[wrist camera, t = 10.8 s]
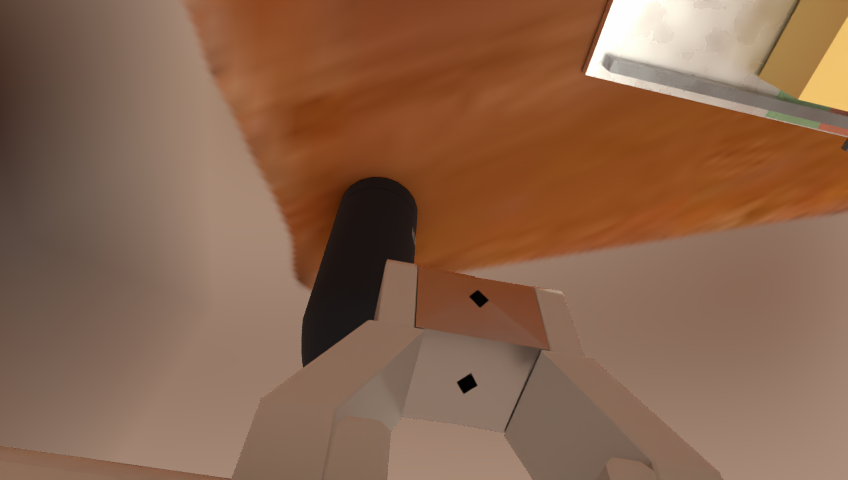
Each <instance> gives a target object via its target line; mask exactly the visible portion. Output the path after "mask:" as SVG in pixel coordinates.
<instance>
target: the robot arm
mask: <svg viewBox="0 0 848 480" xmlns="http://www.w3.org/2000/svg"><path fill="white" fill-rule="evenodd" d="M401 417H407V418H414V419H423V420H430V421H438V422H445V423H453V424H458V425H463V426H469V427H474V428H479V429H485V430H490V431H495V432H501V433H505V434H504V436H505V438H506V439H507V441H508V442H509V444H510V445H511V447H512V448H513V450H514V451H515V453H516V455H517V456H518V458H519V459H520V461H521V462H522V464H523V465H524V467H525V468H526V470H527V471H528V473H529V474H530V476H531V477H532V479H533V480H723V478H722V476H721V474H720V472H719V471H718V470H716V469H715V468H714V467H713V466H712V465H711V464H710V463H709V462H707V460H705V459H704V458H703V457H702V456H701V455H700V454H699V453H698V452H697V451H695V450H694V449H693V448H692V447H691V446H690V445H689V444H688V443H687V442H685V441H684V440H683V439H682V438H681V437H680V436H679V435H678V434H677V433H675V432H674V431H673V430H672V429H671V428H670V427H669V426H667V424H666V423H664V422H663V421H662V420H661V419H660V418H659V417H658V416H657V415H655V414H654V413H653V412H652V411H651V410H650V409H649V408H648V407H647V406H646V405H644V404H643V403H642V402H641V401H640V400H639V399H638V398H637V397H636V396H634V395H633V394H632V393H631V392H630V391H629V390H628V389H627V388H626V387H624V386H623V385H622V384H621V383H620V382H619V381H618V380H617V379H616V378H614V377H613V376H612V375H611V374H610V373H609V372H608V371H607V370H606V369H604V368H603V367H602V366H601V365H600V364H599V363H598V362H597V361H596V360H594V359H592V358H586V357H585V356H584V353H583V350H582V347H581V344H580V341H579V338H578V335H577V332H576V330H575V326H574V323H573V320H572V317H571V314H570V311H569V309H568V306H567V303H566V300H565V297H564V294H563V293H562V292H561V291H560V290H553V289H546V288H540V287H533V286H532V287H530V286H524V285H518V284H512V283H505V282H500V281H494V280H488V279H482V278H476V277H474V276H470V275H465V274H460V273H455V272H450V271H445V270H440V269H436V268H431V267H426V266H421V265H416V264H412V263H406V262H400V261H395V260H389V259H387V262H386V265H385V269H384V274H383V279H382V283H381V288H380V293H379V297H378V302H377V307H376V312H375V317H374V321H373V320H368V321H366V322H365V323H364V324H362V325H361V326H360V327H358V328H357V329H356V330H354V331H353V332H351V333H350V334H349V335H347V336H346V337H345V338H343V339H342V340H341V341H339V342H338V343H336V344H335V345H334V346H332V347H331V348H330V349H328V350H327V351H326V352H324V353H323V354H321V355H320V356H319V357H317V358H316V359H315V360H313V361H312V362H310V363H309V364H308V365H306V366H305V367H304V368H302V369H301V370H300V371H298V372H297V373H295V374H294V375H293V376H291V377H290V378H289V379H287V380H286V381H285V382H284V383H282V384H280V385H279V386H278V387H276V388H275V389H274V390H272V391H271V392H270V393H268V394H267V395H266V396H264V397H263V398H261V400H260V403H259V405H258V408H257V411H256V413H255V416H254V419H253V422H252V425H251V427H250V430H249V433H248V435H247V438H246V441H245V443H244V446H243V449H242V452H241V455H240V457H239V460H238V463H237V466H236V468H235V471H234V474H233V476H232V479H229V478H222V477H215V476H208V475H201V474H194V473H187V472H180V471H173V470H166V469H159V468H152V467H145V466H138V465H131V464H124V463H117V462H110V461H104V460H96V459H90V458H83V457H75V456H69V455H61V454H55V453H47V452H41V451H34V450H27V449H20V448H13V447H6V446H0V480H387V475H388V462H389V449H390V436H391V431H392V430H393V428H394V427H395V426H396V425H397V423H398V422H399V421H400V419H401Z"/></svg>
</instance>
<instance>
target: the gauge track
mask: <svg viewBox="0 0 848 480" xmlns="http://www.w3.org/2000/svg"><path fill="white" fill-rule="evenodd" d="M799 2H800V0H609V1H608V3H607V6H606V9H605V11H604V14H603V17H602V19H601V22H600V25H599V27H598V30H597V33H596V35H595V38H594V41H593V43H592V46H591V49H590V51H589V54H588V57H587V59H586V62H585V65H584V67H583V70H582V71H583V73H584V74H585V75H588V76H592V77H596V78H601V79H605V80H609V81H613V82H617V83H622V84H626V85H630V86H634V87H638V88H643V89H647V90H651V91H655V92H659V93H664V94H668V95H672V96H676V97H680V98H685V99H689V100H693V101H697V102H701V103H706V104H710V105H714V106H718V107H722V108H727V109H731V110H735V111H739V112H743V113H748V114H752V115H756V116H760V117H765V118H769V119H773V120H777V121H781V122H786V123H790V124H794V125H798V126H802V127H807V128H811V129H815V130H819V131H823V132H828V133H832V134H836V135H840V136H844V137H848V111H844V110H839V109H835V108H831V107H827V106H823V105H819V104H815V103H811V102H807V101H802V100H798V99H796V98H794V97H793V96H791V95H789V94H787V93H785V92H784V91H782V90H780V89H778V88H776V87H774V86H773V85H771V84H769V83H767V82H765V81H764V80H762V79H760V78H758V77H759V75H760V73H761V72H762V70H763V68H764V66H765V64H766V62H767V61H768V59H769V57H770V55H771V53H772V51H773V50H774V48H775V46H776V44H777V42H778V41H779V39H780V37H781V35H782V33H783V31H784V30H785V28H786V26H787V24H788V22H789V21H790V19H791V17H792V15H793V13H794V11H795V10H796V8H797V6H798V4H799Z"/></svg>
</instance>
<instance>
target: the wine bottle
mask: <svg viewBox="0 0 848 480" xmlns="http://www.w3.org/2000/svg"><path fill="white" fill-rule="evenodd" d="M416 225H417V207H416V204H415V200H414V198H413V197H412V196H411V194H410V193H409V191H408V190H407V189H406V188H404V187H403V186H402V185H400V184H399V183H397V182H395V181H392V180H389V179H386V178H374V177H372V178H368V179H364V180H360V181H359V182H357V183H355V184H354V185H352V186H350V188H349V189H348V190H347V191H346V192H345V194H344V195H343V197H342V200H341V203H340V206H339V209H338V212H337V215H336V218H335V222H334V225H333V228H332V231H331V234H330V237H329V240H328V243H327V246H326V249H325V252H324V256H323V259H322V262H321V265H320V268H319V271H318V274H317V277H316V280H315V283H314V287H313V290H312V293H311V296H310V299H309V302H308V305H307V308H306V311H305V314H304V317H303V325H302V363H303V368H304V367H305V366H306V365H308V364H309V363H310V362H312V361H313V360H315V359H316V358H317V357H319V356H320V355H321V354H323V353H324V352H326V351H327V350H328V349H330V348H331V347H332V346H334V345H335V344H336V343H338V342H339V341H341V340H342V339H343V338H345V337H346V336H347V335H349V334H350V333H351V332H353V331H354V330H356V329H357V328H358V327H360V326H361V325H362V324H364V323H365V322H366V321H368V320H373V321H374V317H375V312H376V307H377V302H378V297H379V293H380V288H381V283H382V279H383V274H384V269H385V265H386V262H387V259H389V260H395V261H400V262H406V263H412V264H414V255H415V240H416Z"/></svg>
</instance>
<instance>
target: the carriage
mask: <svg viewBox="0 0 848 480" xmlns="http://www.w3.org/2000/svg"><path fill="white" fill-rule="evenodd" d="M758 78H760V79H762V80H764V81H765V82H767V83H769V84H771V85H773V86H774V87H776V88H778V89H780V90H782V91H784V92H785V93H787V94H789V95H791V96H793V97H794V98H796V99H798V100H802V101H807V102H811V103H815V104H819V105H823V106H827V107H831V108H835V109H839V110H844V111H848V0H800V2H799V4H798V6H797V8H796V10H795V11H794V13H793V15H792V17H791V19H790V21H789V22H788V24H787V26H786V28H785V30H784V31H783V33H782V35H781V37H780V39H779V41H778V42H777V44H776V46H775V48H774V50H773V51H772V53H771V55H770V57H769V59H768V61H767V62H766V64H765V66H764V68H763V70H762V72H761V73H760V75H759V77H758ZM841 148H842V149H843V150H845V151H848V138H847V140H846V141H845V143H844V144H843V146H842V147H841Z"/></svg>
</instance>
